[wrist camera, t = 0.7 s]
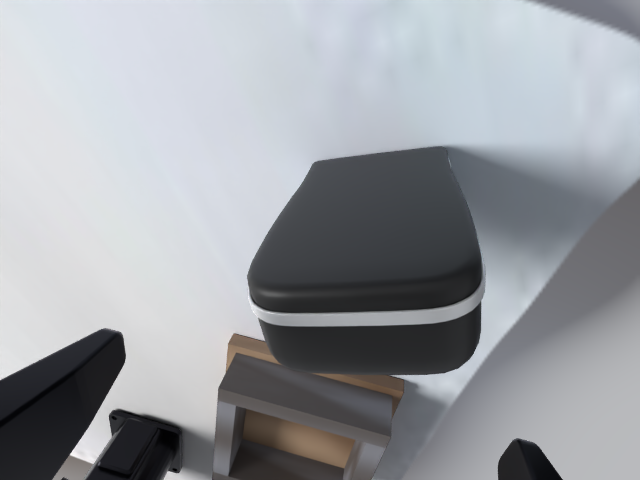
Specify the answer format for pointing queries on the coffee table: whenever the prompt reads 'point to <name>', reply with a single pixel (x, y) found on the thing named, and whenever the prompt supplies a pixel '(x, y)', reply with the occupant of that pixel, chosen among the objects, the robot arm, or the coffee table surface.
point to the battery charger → (372, 269)
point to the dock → (298, 420)
